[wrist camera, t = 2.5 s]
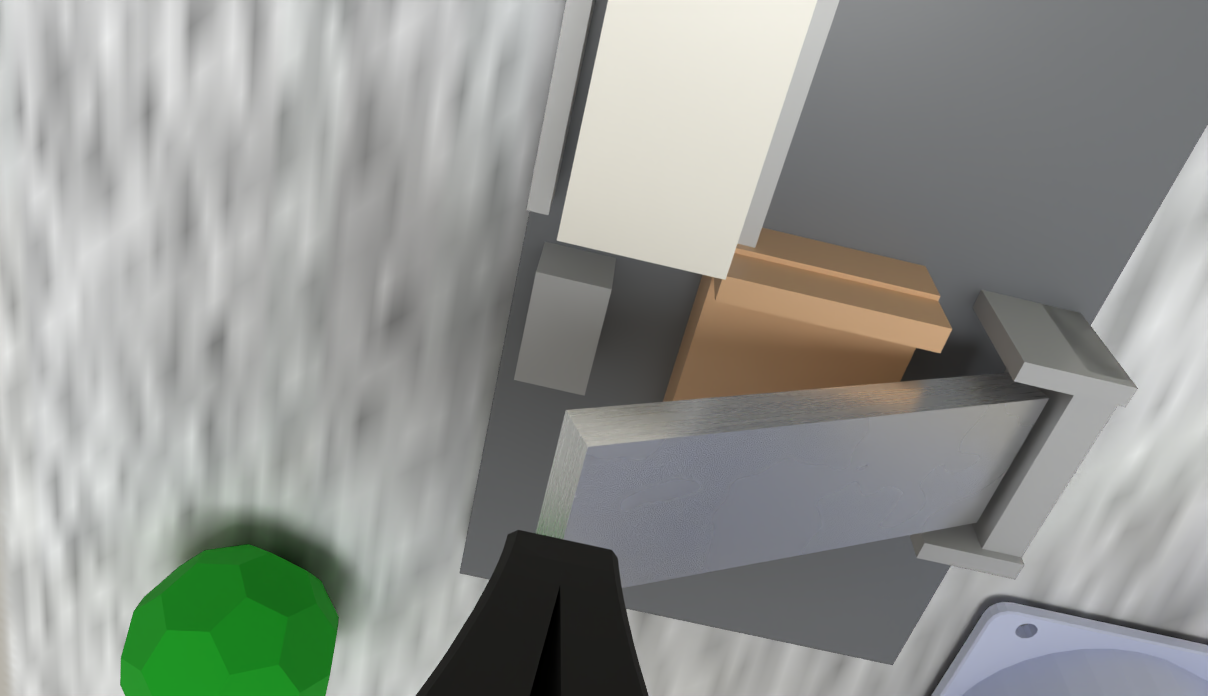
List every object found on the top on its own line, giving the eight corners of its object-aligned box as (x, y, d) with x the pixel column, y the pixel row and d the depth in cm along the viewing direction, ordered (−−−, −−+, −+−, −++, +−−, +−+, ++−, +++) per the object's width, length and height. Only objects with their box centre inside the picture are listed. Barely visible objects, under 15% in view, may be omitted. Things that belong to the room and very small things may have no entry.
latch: (817, -132, 14) (853, -109, 11) (717, 192, 17) (725, 279, 14) (651, -175, 14) (642, -165, 11) (579, 159, 17) (556, 240, 14)
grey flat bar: (1016, 371, 17) (1048, 398, 16) (949, 494, 18) (977, 522, 18) (565, 410, 13) (587, 446, 12) (528, 562, 14) (546, 602, 14)
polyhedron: (395, 568, 24) (336, 726, 20) (316, 666, 27) (250, 825, 23) (219, 477, 23) (120, 625, 19) (152, 587, 25) (52, 741, 21)
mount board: (1304, -128, 15) (1479, -103, 12) (883, 627, 24) (914, 758, 21) (634, -307, 14) (620, -332, 11) (469, 538, 24) (435, 658, 20)
